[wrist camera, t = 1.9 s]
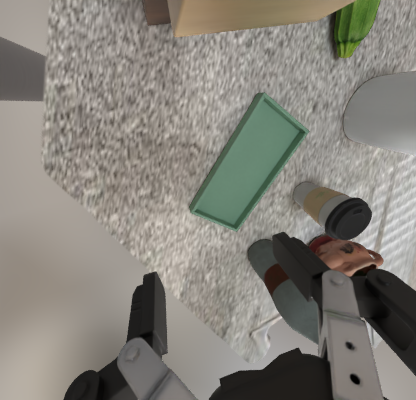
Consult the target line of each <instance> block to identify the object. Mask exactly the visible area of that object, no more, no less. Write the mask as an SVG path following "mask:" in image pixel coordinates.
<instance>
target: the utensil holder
mask: <svg viewBox="0 0 416 400" xmlns="http://www.w3.org/2000/svg"><path fill="white" fill-rule="evenodd" d="M343 128H344V132H345V134H346V136H347V137H348V138H349V139H350V140H352V141H355V142H358V143H362V144H366V145H370V146H374V147H378V148H382V149H387V150H391V151H396V152H400V153H404V154H408V155H413V156H416V71H411V72H404V73H397V74H391V75H385V76H379V77H375V78H372V79H370V80H368V81H367V82H365V83H364V84H363V85H362V86H361V87H360V88H359V89H358V90H357V91H356V92H355V93H354V95H353V96H352V98H351V99H350V101H349V103H348V105H347V107H346V110H345V114H344V119H343Z"/></svg>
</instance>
